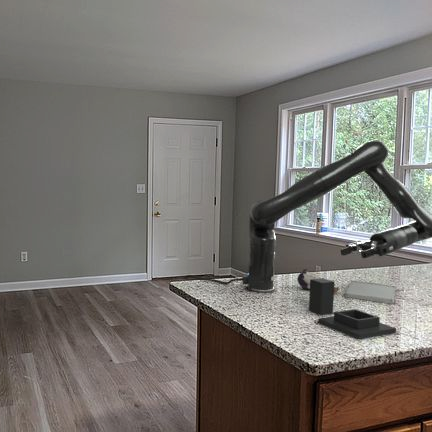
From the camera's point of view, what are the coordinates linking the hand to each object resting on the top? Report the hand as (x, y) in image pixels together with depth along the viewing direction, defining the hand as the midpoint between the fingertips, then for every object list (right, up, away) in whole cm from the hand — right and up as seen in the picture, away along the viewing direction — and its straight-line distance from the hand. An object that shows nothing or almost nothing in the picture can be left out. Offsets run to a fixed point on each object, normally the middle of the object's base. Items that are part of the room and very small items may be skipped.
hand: (351, 253), depth 141 cm
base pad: (-8, -19, -18) cm, 28 cm away
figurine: (-2, -16, +23) cm, 28 cm away
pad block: (-12, -18, -4) cm, 22 cm away
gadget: (+17, -16, +19) cm, 30 cm away
